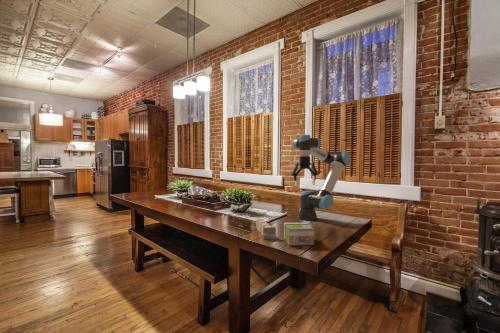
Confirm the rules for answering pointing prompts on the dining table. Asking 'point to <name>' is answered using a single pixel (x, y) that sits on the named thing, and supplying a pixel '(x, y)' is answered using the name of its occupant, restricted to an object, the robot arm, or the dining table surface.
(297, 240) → the tea box
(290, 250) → the dining table surface
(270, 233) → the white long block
